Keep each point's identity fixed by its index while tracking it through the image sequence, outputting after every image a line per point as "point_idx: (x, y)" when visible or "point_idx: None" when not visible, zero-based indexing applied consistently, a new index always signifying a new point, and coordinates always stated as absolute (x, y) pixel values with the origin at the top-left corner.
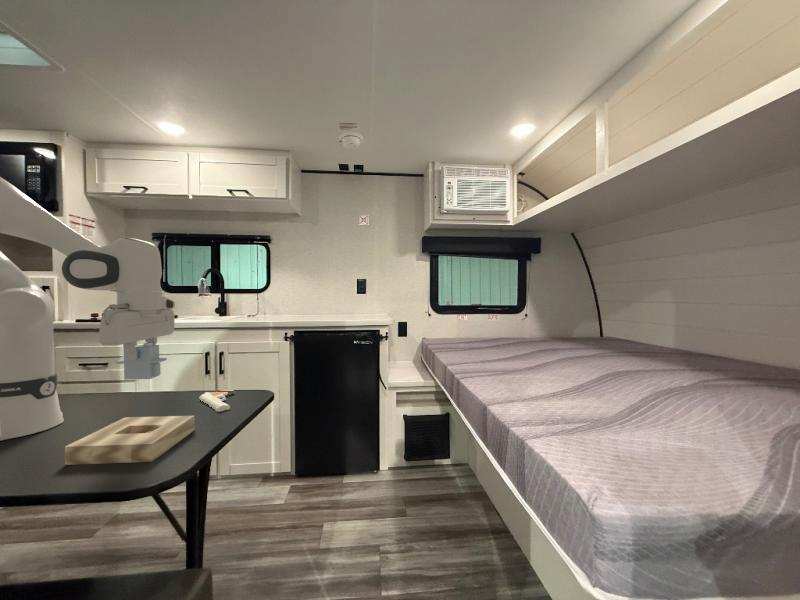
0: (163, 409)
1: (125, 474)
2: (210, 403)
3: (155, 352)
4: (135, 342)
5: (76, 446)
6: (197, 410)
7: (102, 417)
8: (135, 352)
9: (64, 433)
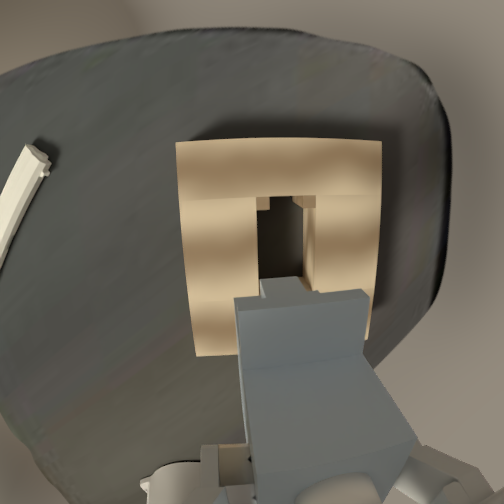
0: (59, 341)
1: (403, 165)
2: (16, 220)
3: (304, 407)
4: (468, 500)
5: (370, 317)
6: (46, 241)
7: (131, 428)
8: (424, 446)
9: (211, 433)
